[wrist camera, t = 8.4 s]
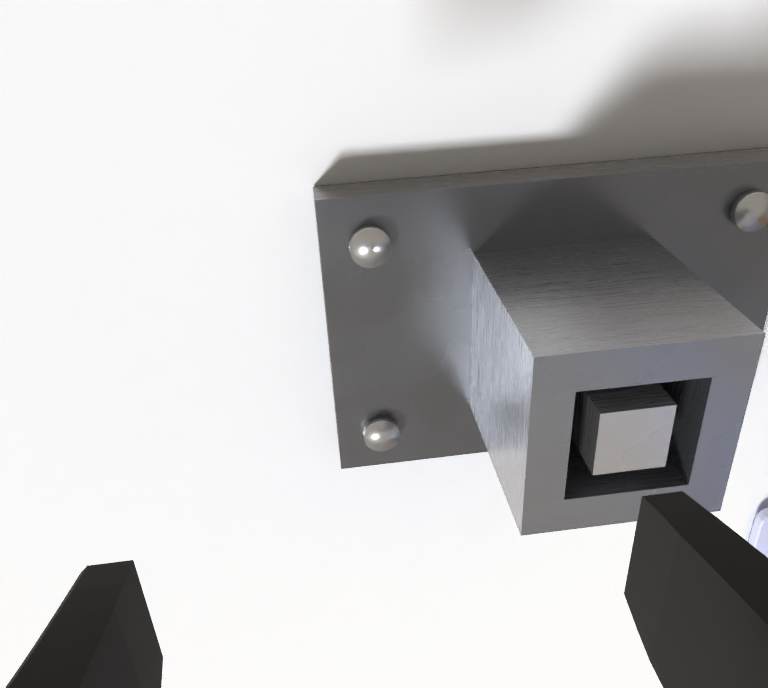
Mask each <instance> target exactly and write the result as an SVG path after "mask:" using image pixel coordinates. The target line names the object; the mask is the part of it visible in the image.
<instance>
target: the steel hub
mask: <svg viewBox="0 0 768 688" xmlns="http://www.w3.org/2000/svg"><path fill="white" fill-rule="evenodd" d="M764 337H765V333H764V332H763V331H762V330H761V329H760V328H758V327H757V326H756V325H755V324H754V323H753V322H751V321H750V320H749V319H748V318H747V317H746V316H744V315H743V314H742V313H741V312H740V311H739V310H737V309H736V308H735V307H734V306H733V305H732V304H730V303H729V302H728V301H727V300H726V299H725V298H723V297H722V296H721V295H720V294H719V293H718V292H716V291H715V290H714V289H713V288H712V287H710V286H709V285H708V284H707V283H706V282H705V281H703V280H702V279H701V278H700V277H699V276H698V275H696V274H695V273H694V272H693V271H692V270H691V269H689V268H688V267H687V266H686V265H685V264H684V263H682V262H681V261H680V260H679V259H678V258H677V257H675V256H674V255H673V254H672V253H671V252H670V251H668V250H667V249H666V248H665V247H664V246H662V245H661V244H660V243H659V242H658V241H657V240H655V239H654V238H653V237H644V238H633V239H622V240H611V241H600V242H589V243H578V244H566V245H555V246H544V247H533V248H522V249H511V250H500V251H489V252H478V253H473V282H472V330H471V378H470V407H471V410H472V412H473V415H474V417H475V420H476V422H477V425H478V427H479V430H480V432H481V435H482V438H483V440H484V443H485V445H486V448H487V450H488V453H489V455H490V458H491V460H492V463H493V466H494V468H495V471H496V473H497V476H498V478H499V481H500V483H501V486H502V488H503V491H504V494H505V496H506V499H507V501H508V504H509V506H510V509H511V511H512V514H513V516H514V519H515V522H516V524H517V527H518V529H519V532H520V534H521V535H529V534H537V533H545V532H553V531H561V530H569V529H577V528H585V527H593V526H601V525H609V524H617V523H625V522H633V521H637V520H638V515H639V509H640V504H641V498H642V496H647V495H655V494H663V493H671V492H679V491H683V492H684V493H686V494H687V495H688V496H690V497H691V498H692V499H693V500H695V501H696V502H697V503H699V504H700V505H701V506H703V507H704V508H705V509H706V510H708V511H709V512H713V511H720V509H721V505H722V501H723V498H724V494H725V490H726V486H727V482H728V478H729V474H730V470H731V466H732V462H733V458H734V454H735V451H736V447H737V443H738V439H739V435H740V431H741V427H742V423H743V419H744V415H745V411H746V407H747V404H748V400H749V396H750V392H751V388H752V384H753V380H754V376H755V372H756V368H757V364H758V361H759V357H760V353H761V349H762V345H763V341H764ZM654 383H659V384H660V385H661V386H662V387H663V389H664V390H665V391H666V392H667V393H668V395H669V396H670V397H671V398H672V400H673V401H674V402H675V403H676V405H677V407H676V413H675V418H674V423H673V428H672V434H671V439H670V444H669V449H668V455H667V460H666V465H665V467H657V468H648V469H640V470H632V471H624V472H616V473H608V474H600V475H592V473H591V472H590V470H589V468H588V466H587V465H586V463H585V461H584V459H583V457H582V456H581V454H580V452H579V450H578V449H577V447H576V445H575V443H574V441H573V440H572V438H571V432H572V423H573V414H574V405H575V395H576V392H580V391H590V390H599V389H608V388H617V387H627V386H636V385H645V384H654Z"/></svg>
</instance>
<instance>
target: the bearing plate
mask: <svg viewBox="0 0 768 688" xmlns="http://www.w3.org/2000/svg"><path fill="white" fill-rule="evenodd" d="M313 192H314V202H315V212H316V222H317V232H318V242H319V252H320V262H321V272H322V282H323V292H324V302H325V312H326V322H327V332H328V342H329V352H330V362H331V372H332V382H333V392H334V402H335V413H336V423H337V433H338V443H339V452H340V461H341V469H344V468H352V467H361V466H369V465H378V464H386V463H395V462H403V461H412V460H420V459H428V458H437V457H445V456H454V455H462V454H471V453H479V452H488V450H487V448H486V445H485V443H484V440H483V438H482V435H481V432H480V430H479V427H478V425H477V422H476V420H475V417H474V415H473V412H472V410H471V407H470V378H471V330H472V282H473V253H478V252H489V251H500V250H511V249H522V248H533V247H544V246H555V245H566V244H578V243H589V242H600V241H611V240H622V239H633V238H644V237H653V238H654V239H655V240H657V241H658V242H659V243H660V244H661V245H662V246H664V247H665V248H666V249H667V250H668V251H670V252H671V253H672V254H673V255H674V256H675V257H677V258H678V259H679V260H680V261H681V262H682V263H684V264H685V265H686V266H687V267H688V268H689V269H691V270H692V271H693V272H694V273H695V274H696V275H698V276H699V277H700V278H701V279H702V280H703V281H705V282H706V283H707V284H708V285H709V286H710V287H712V288H713V289H714V290H715V291H716V292H718V293H719V294H720V295H721V296H722V297H723V298H725V299H726V300H727V301H728V302H729V303H730V304H732V305H733V306H734V307H735V308H736V309H737V310H739V311H740V312H741V313H742V314H743V315H744V316H746V317H747V318H748V319H749V320H750V321H751V322H753V323H754V324H755V325H756V326H757V327H758V328H760V329H761V330H762V331H763V328H764V324H765V320H766V316H767V312H768V148H757V149H746V150H734V151H722V152H711V153H699V154H688V155H676V156H664V157H653V158H641V159H629V160H618V161H606V162H594V163H583V164H571V165H559V166H548V167H536V168H524V169H513V170H501V171H490V172H478V173H466V174H455V175H443V176H431V177H420V178H408V179H396V180H385V181H373V182H361V183H350V184H338V185H327V186H315V187H313ZM676 407H677V405H676V403H675V402H674V401H673V400H672V398H671V397H670V396H669V395H668V393H667V392H666V391H665V390H664V389H663V387H662V386H661V385H660V384H659V383H654V384H645V385H636V386H627V387H617V388H608V389H599V390H590V391H580V392H576V395H575V405H574V414H573V423H572V432H571V438H572V440H573V441H574V443H575V445H576V447H577V449H578V450H579V452H580V454H581V456H582V457H583V459H584V461H585V463H586V465H587V466H588V468H589V470H590V472H591V473H592V475H600V474H608V473H616V472H624V471H632V470H640V469H648V468H657V467H665V465H666V460H667V455H668V449H669V444H670V439H671V434H672V428H673V423H674V418H675V413H676Z"/></svg>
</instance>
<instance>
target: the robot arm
mask: <svg viewBox="0 0 768 688" xmlns="http://www.w3.org/2000/svg"><path fill="white" fill-rule="evenodd" d="M624 594H625V597H626V600H627V603H628V605H629V608H630V611H631V613H632V616H633V619H634V622H635V624H636V627H637V630H638V632H639V635H640V637H641V640H642V642H643V645H644V647H645V650H646V652H647V655H648V657H649V660H650V662H651V664H652V666H653V668H654V670H655V672H656V674H657V676H658V678H659V680H660V682H661V684H662V686H663V687H664V688H768V507H767V508H764V509H763V510H761V511H760V512H759V513H758V514H757V516H756V518H755V520H754V524H753V527H752V531H751V534H750V538H749V541H748V542H747V541H746V540H745V539H743V538H742V537H741V536H739V535H738V534H737V533H736V532H734V531H733V530H732V529H731V528H729V527H728V526H727V525H726V524H724V523H723V522H722V521H720V520H719V519H718V518H717V517H715V516H714V515H713V514H712V513H710V512H709V511H708V510H706V509H705V508H704V507H703V506H701V505H700V504H699V503H697V502H696V501H695V500H693V499H692V498H691V497H690V496H688V495H687V494H686V493H684V492H683V491H679V492H671V493H663V494H655V495H647V496H642V498H641V504H640V509H639V515H638V520H637V526H636V531H635V537H634V542H633V548H632V553H631V559H630V564H629V570H628V575H627V581H626V586H625V592H624ZM162 663H163V656H162V653H161V649H160V646H159V643H158V640H157V636H156V633H155V630H154V627H153V623H152V620H151V617H150V614H149V610H148V607H147V604H146V601H145V597H144V594H143V591H142V588H141V584H140V581H139V578H138V575H137V571H136V568H135V565H134V562H133V560H131V561H123V562H115V563H107V564H99V565H91V566H87V567H86V568H85V569H84V570H83V571H82V572H81V574H80V575H79V577H78V578H77V580H76V581H75V583H74V585H73V586H72V588H71V589H70V591H69V592H68V594H67V596H66V597H65V599H64V600H63V602H62V604H61V605H60V607H59V608H58V610H57V611H56V613H55V614H54V616H53V618H52V619H51V621H50V622H49V624H48V625H47V627H46V628H45V630H44V632H43V633H42V635H41V636H40V638H39V639H38V641H37V642H36V644H35V645H34V647H33V648H32V650H31V651H30V653H29V654H28V656H27V657H26V659H25V660H24V662H23V663H22V665H21V666H20V668H19V669H18V671H17V672H16V673H15V675H14V676H13V678H12V679H11V681H10V682H9V683H8V685H7V686H6V688H161V679H162Z"/></svg>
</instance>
